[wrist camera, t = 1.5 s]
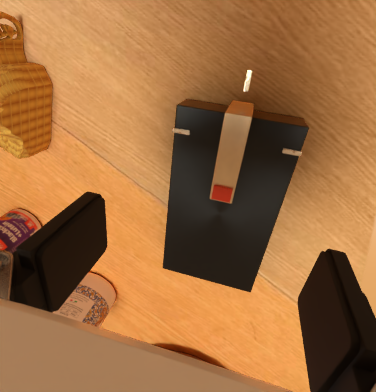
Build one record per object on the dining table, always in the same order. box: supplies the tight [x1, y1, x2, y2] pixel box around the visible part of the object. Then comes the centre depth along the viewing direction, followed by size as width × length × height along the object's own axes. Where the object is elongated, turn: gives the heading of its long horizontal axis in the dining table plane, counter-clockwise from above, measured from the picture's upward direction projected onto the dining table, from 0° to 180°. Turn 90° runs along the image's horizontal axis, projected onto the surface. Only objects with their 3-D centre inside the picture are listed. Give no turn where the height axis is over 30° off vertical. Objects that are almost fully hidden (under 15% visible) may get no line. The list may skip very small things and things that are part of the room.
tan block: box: [210, 100, 254, 204], centre depth 18 cm, size 6×2×5 cm, turn 174°
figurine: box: [0, 12, 52, 159], centre depth 23 cm, size 4×12×7 cm, turn 162°
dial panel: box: [163, 70, 309, 292], centre depth 24 cm, size 21×10×3 cm, turn 174°
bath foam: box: [53, 273, 116, 328], centre depth 31 cm, size 7×7×20 cm
